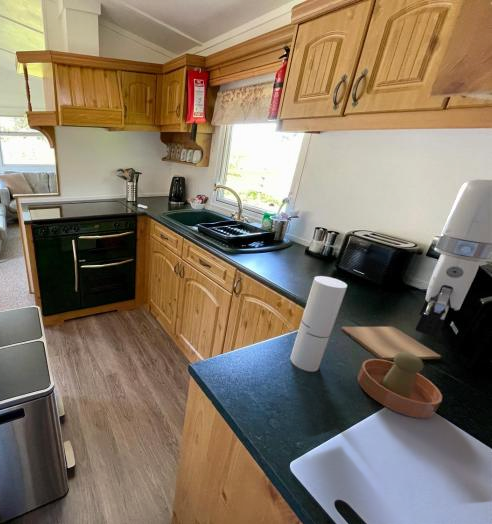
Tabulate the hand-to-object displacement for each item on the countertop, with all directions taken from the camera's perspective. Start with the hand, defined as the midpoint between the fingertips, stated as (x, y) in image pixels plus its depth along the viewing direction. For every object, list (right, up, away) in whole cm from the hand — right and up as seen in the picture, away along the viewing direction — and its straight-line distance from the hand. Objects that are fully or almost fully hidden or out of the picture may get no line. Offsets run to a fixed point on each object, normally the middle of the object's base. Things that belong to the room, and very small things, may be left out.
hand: (427, 325), depth 61 cm
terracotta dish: (+3, -20, +12) cm, 23 cm away
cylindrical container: (-14, -15, +21) cm, 29 cm away
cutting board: (+19, -13, +33) cm, 40 cm away
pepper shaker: (+3, -20, +12) cm, 23 cm away
